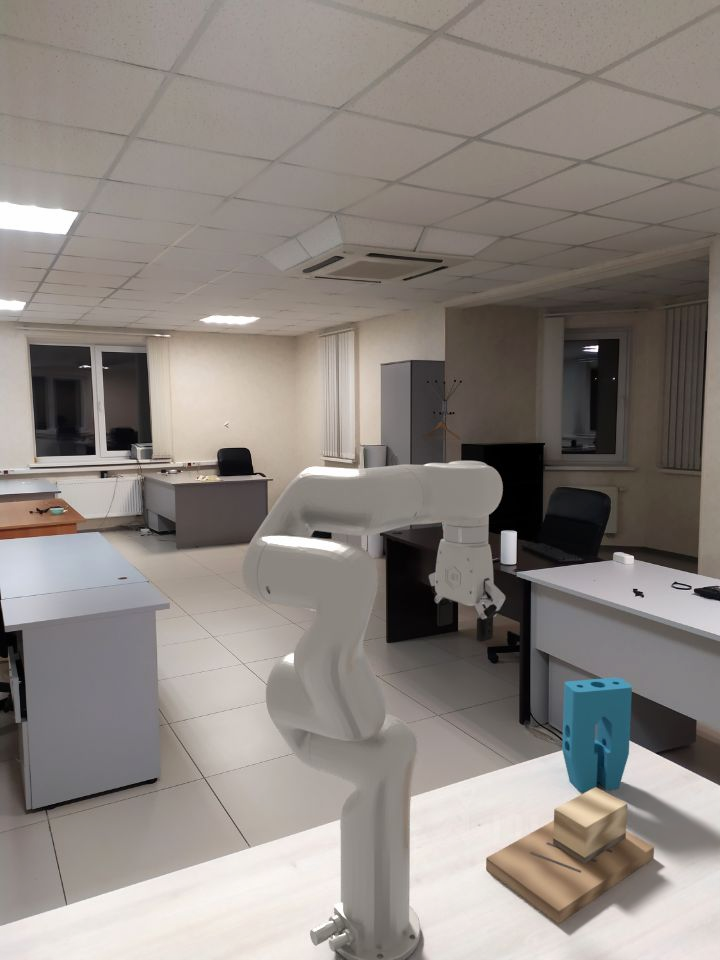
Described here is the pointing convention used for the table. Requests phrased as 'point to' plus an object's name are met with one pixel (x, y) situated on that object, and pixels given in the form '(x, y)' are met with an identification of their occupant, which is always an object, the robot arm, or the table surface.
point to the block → (611, 749)
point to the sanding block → (589, 824)
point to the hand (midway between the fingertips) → (464, 632)
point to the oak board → (564, 871)
